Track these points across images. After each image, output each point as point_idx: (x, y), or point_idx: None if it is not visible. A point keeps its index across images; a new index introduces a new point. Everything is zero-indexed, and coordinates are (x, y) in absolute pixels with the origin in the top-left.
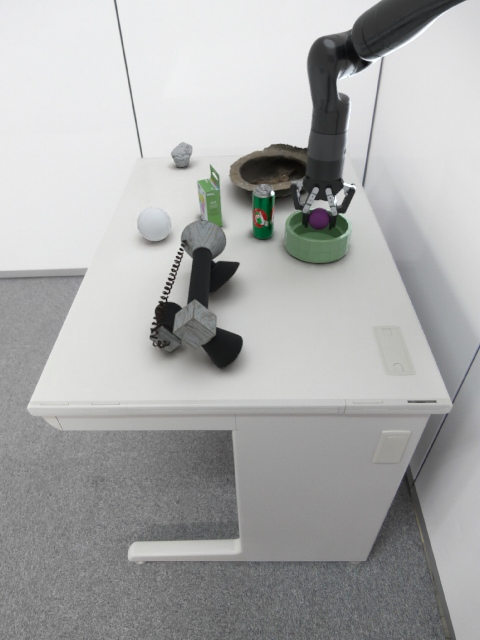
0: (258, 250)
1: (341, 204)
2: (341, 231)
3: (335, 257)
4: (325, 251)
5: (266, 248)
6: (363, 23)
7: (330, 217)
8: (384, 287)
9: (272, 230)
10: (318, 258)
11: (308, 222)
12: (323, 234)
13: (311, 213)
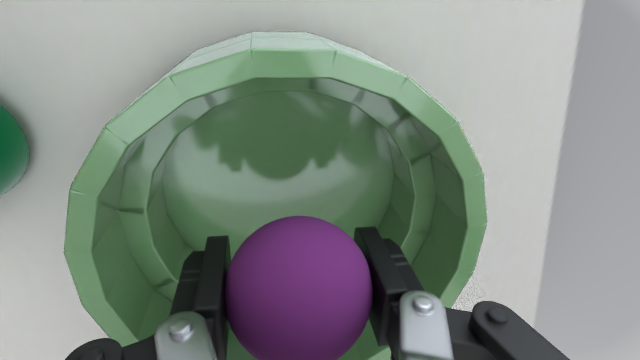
0: (23, 264)
1: (484, 336)
2: (414, 170)
3: None
4: None
5: (54, 243)
6: None
7: (376, 334)
8: None
9: (10, 170)
10: None
11: (227, 242)
12: (313, 98)
13: (243, 346)
